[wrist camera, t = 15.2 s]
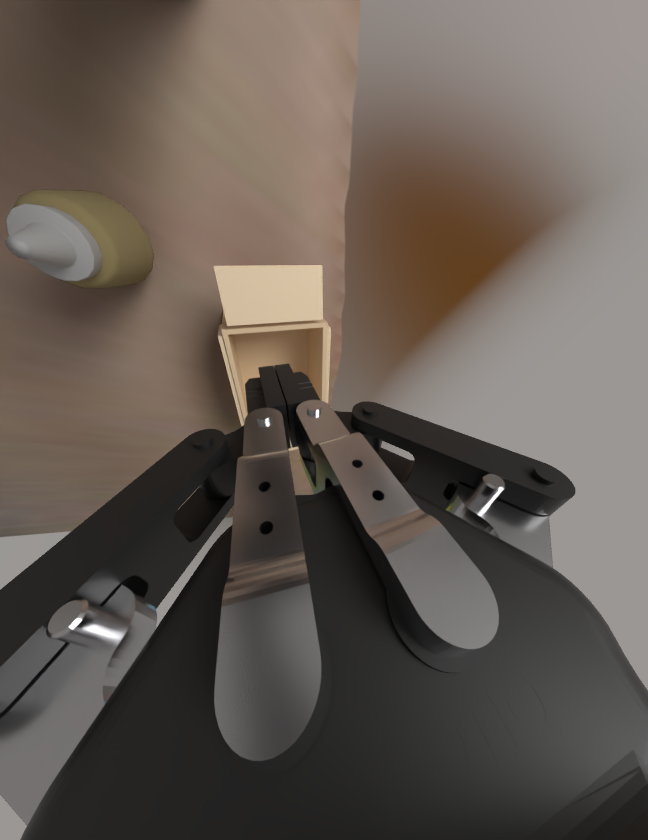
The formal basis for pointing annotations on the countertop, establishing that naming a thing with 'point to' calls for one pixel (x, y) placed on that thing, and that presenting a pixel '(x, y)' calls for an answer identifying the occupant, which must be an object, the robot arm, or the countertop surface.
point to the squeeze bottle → (79, 238)
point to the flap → (270, 293)
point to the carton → (275, 353)
